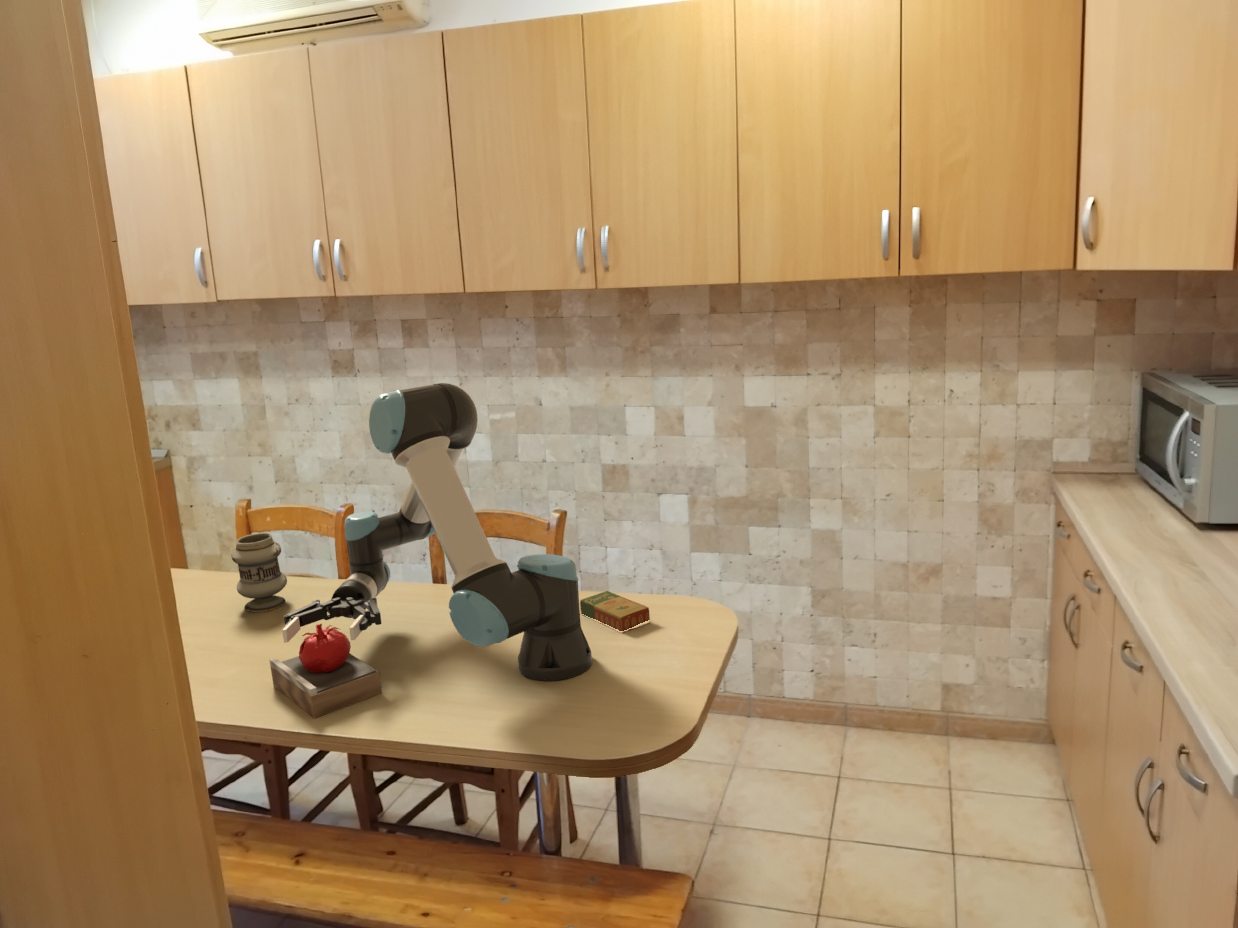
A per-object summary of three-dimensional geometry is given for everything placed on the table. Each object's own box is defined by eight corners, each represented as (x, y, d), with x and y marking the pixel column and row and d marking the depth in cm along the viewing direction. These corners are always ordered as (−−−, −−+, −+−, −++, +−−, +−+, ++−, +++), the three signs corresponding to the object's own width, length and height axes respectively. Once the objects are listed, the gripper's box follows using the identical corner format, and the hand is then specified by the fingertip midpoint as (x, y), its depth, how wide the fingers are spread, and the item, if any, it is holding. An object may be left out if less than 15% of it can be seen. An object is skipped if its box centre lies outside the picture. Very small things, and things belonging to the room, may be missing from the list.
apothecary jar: (230, 608, 239) (219, 540, 235) (272, 593, 248) (262, 527, 244) (257, 617, 232) (246, 547, 228) (299, 601, 241) (289, 533, 237)
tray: (381, 692, 187) (378, 665, 186) (314, 718, 178) (310, 689, 177) (337, 663, 202) (334, 638, 200) (273, 686, 193) (269, 659, 192)
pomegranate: (362, 657, 192) (356, 615, 190) (332, 679, 183) (325, 634, 181) (321, 653, 196) (315, 611, 194) (290, 674, 186) (283, 630, 184)
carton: (621, 635, 208) (620, 616, 208) (580, 615, 221) (578, 598, 220) (650, 624, 213) (649, 606, 212) (608, 605, 226) (607, 589, 225)
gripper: (412, 610, 207) (382, 650, 186) (301, 613, 209) (259, 654, 188) (408, 577, 205) (377, 615, 185) (296, 581, 207) (254, 619, 187)
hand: (318, 635), depth 186 cm, fingers open, 13 cm apart
